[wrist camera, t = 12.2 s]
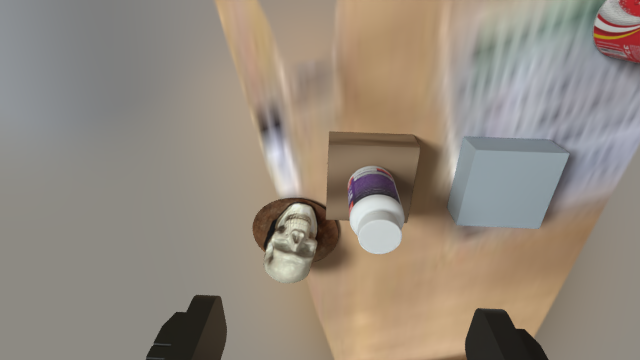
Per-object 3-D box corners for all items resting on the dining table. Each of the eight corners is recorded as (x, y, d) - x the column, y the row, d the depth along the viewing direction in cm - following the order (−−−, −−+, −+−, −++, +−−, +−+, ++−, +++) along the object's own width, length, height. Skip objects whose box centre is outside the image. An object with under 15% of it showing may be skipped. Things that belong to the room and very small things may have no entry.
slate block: (463, 136, 41) (476, 150, 37) (549, 139, 40) (569, 153, 37) (447, 207, 45) (456, 225, 42) (523, 210, 45) (539, 228, 42)
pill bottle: (339, 174, 39) (341, 225, 31) (384, 157, 38) (398, 204, 29) (357, 211, 41) (363, 267, 33) (400, 195, 40) (418, 249, 32)
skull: (258, 184, 44) (304, 236, 38) (315, 180, 51) (362, 223, 45) (234, 253, 49) (271, 308, 43) (289, 240, 56) (328, 286, 50)
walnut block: (329, 131, 41) (328, 144, 37) (413, 134, 41) (420, 147, 37) (326, 202, 46) (325, 219, 42) (401, 205, 46) (407, 223, 42)
